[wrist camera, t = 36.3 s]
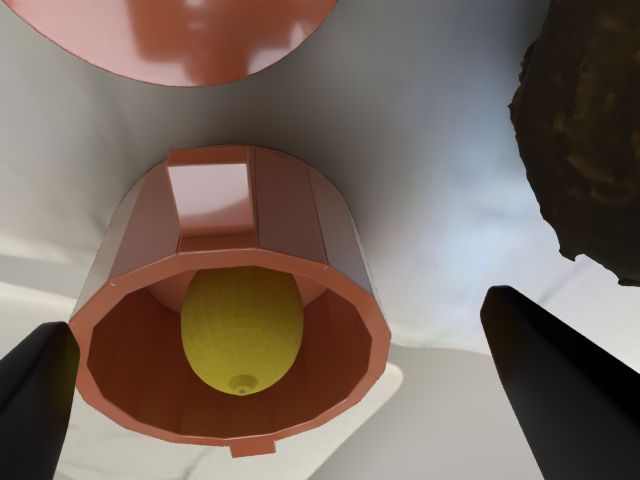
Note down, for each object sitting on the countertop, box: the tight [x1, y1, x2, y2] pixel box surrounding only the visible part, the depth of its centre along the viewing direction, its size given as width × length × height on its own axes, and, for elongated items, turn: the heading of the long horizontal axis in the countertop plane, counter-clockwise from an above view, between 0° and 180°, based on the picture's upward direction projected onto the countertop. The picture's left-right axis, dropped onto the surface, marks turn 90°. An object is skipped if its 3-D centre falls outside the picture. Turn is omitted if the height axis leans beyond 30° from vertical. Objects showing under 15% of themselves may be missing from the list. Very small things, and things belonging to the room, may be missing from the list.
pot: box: [68, 144, 391, 458], centre depth 20 cm, size 13×18×8 cm
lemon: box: [181, 265, 304, 396], centre depth 20 cm, size 6×6×8 cm
